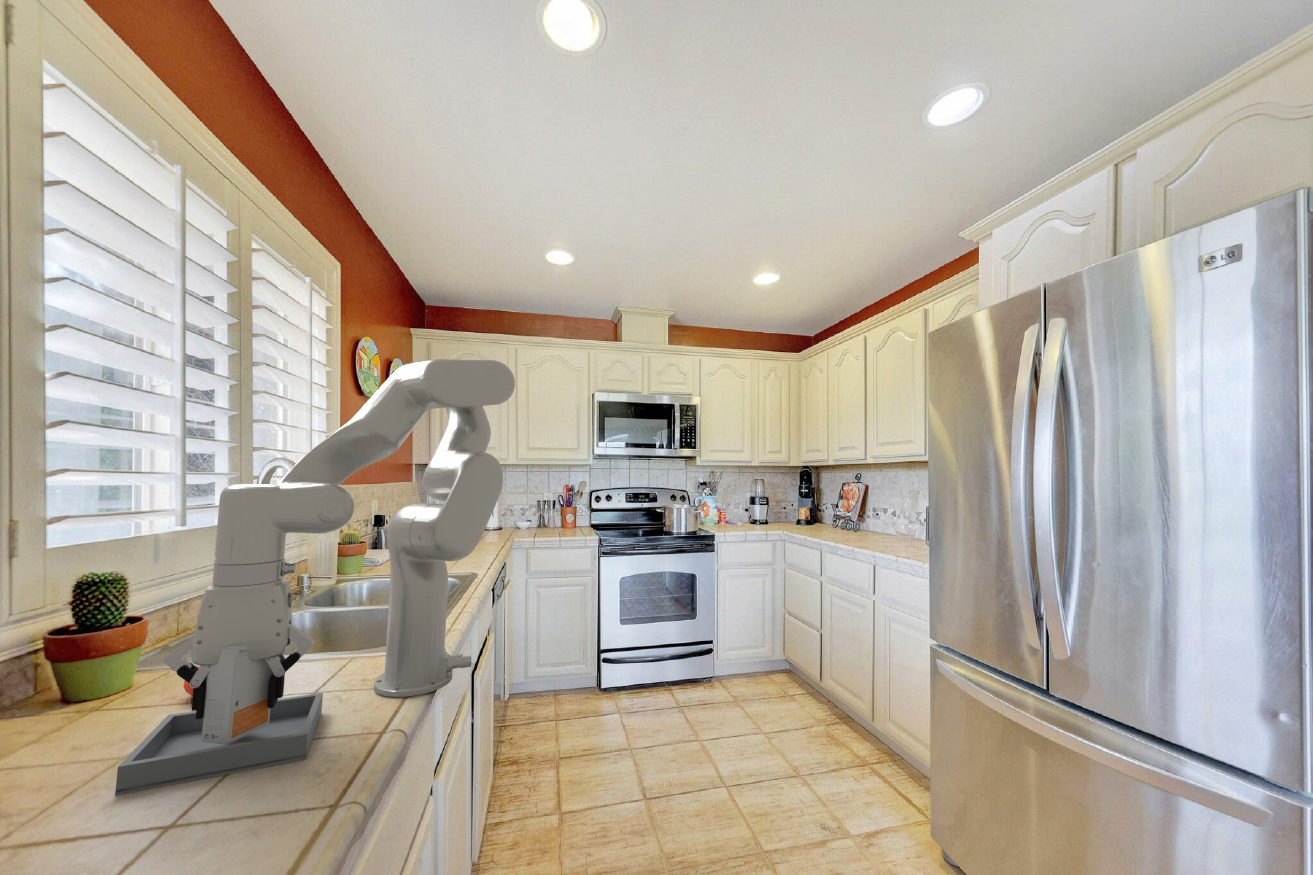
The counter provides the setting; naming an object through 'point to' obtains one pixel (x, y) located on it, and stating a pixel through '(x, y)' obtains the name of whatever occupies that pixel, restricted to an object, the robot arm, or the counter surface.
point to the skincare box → (235, 696)
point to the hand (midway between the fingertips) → (238, 708)
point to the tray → (219, 747)
